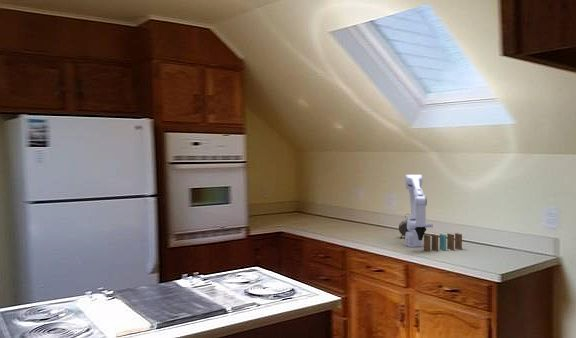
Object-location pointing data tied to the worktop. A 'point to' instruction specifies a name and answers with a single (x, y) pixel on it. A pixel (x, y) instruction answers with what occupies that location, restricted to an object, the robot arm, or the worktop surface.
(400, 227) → the alarm clock
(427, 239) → the brown wooden block
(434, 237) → the domino
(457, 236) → the domino
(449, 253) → the worktop surface
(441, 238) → the teal domino
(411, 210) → the robot arm
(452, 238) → the domino
